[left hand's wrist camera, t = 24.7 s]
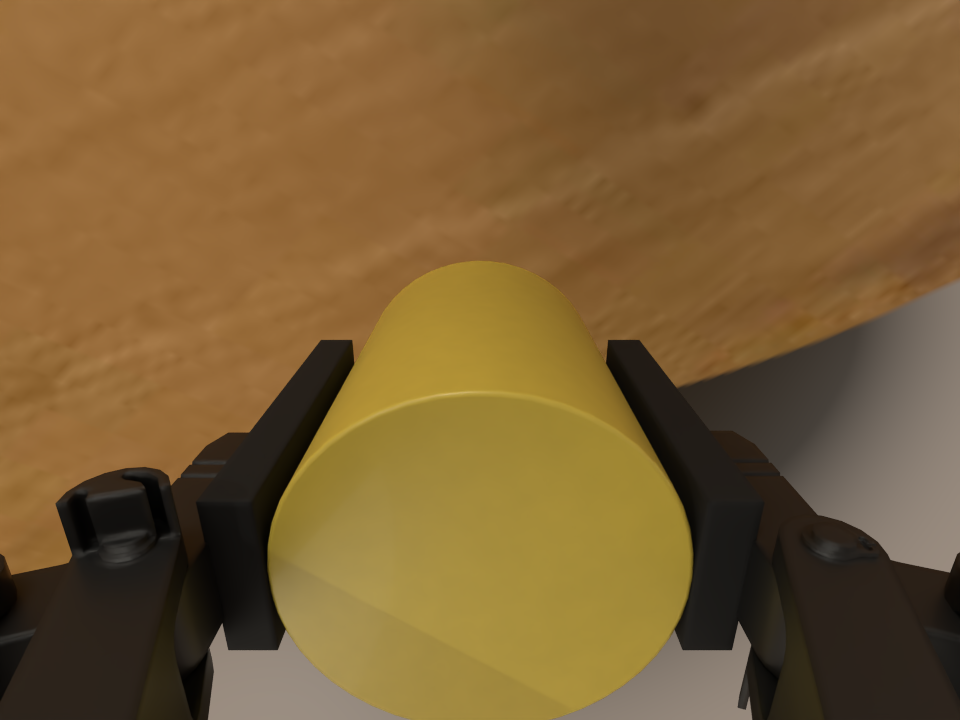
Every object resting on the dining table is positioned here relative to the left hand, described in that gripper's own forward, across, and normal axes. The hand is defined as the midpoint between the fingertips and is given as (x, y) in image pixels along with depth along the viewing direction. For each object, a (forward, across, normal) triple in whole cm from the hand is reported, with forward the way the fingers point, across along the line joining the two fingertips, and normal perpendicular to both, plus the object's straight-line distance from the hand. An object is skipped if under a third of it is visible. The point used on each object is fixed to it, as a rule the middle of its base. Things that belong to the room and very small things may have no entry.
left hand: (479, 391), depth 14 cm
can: (+2, 0, 0) cm, 2 cm away
